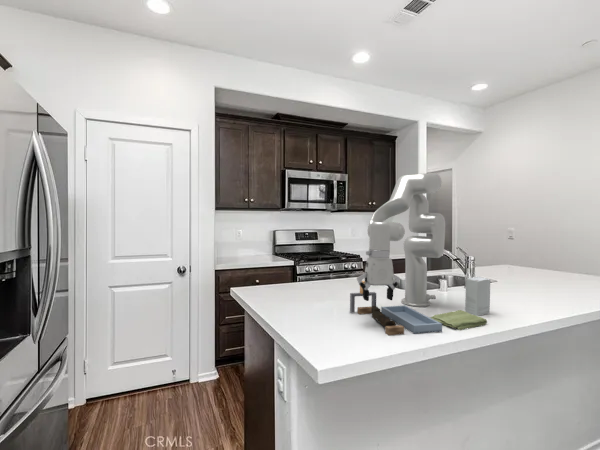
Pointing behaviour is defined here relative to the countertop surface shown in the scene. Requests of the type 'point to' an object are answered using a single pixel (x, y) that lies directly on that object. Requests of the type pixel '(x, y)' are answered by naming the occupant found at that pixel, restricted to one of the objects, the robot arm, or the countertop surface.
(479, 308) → the skincare box
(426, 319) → the tray
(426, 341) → the countertop surface
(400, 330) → the cradle
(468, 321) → the washcloth
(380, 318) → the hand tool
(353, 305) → the gray arch frame
